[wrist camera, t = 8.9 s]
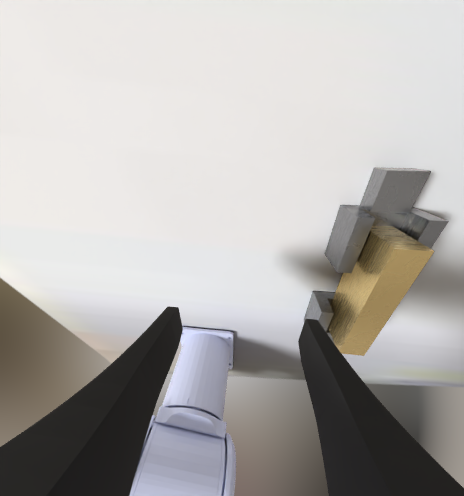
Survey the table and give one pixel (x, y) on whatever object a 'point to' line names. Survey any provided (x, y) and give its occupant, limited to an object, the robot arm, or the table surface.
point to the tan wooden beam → (374, 287)
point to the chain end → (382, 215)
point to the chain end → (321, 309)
